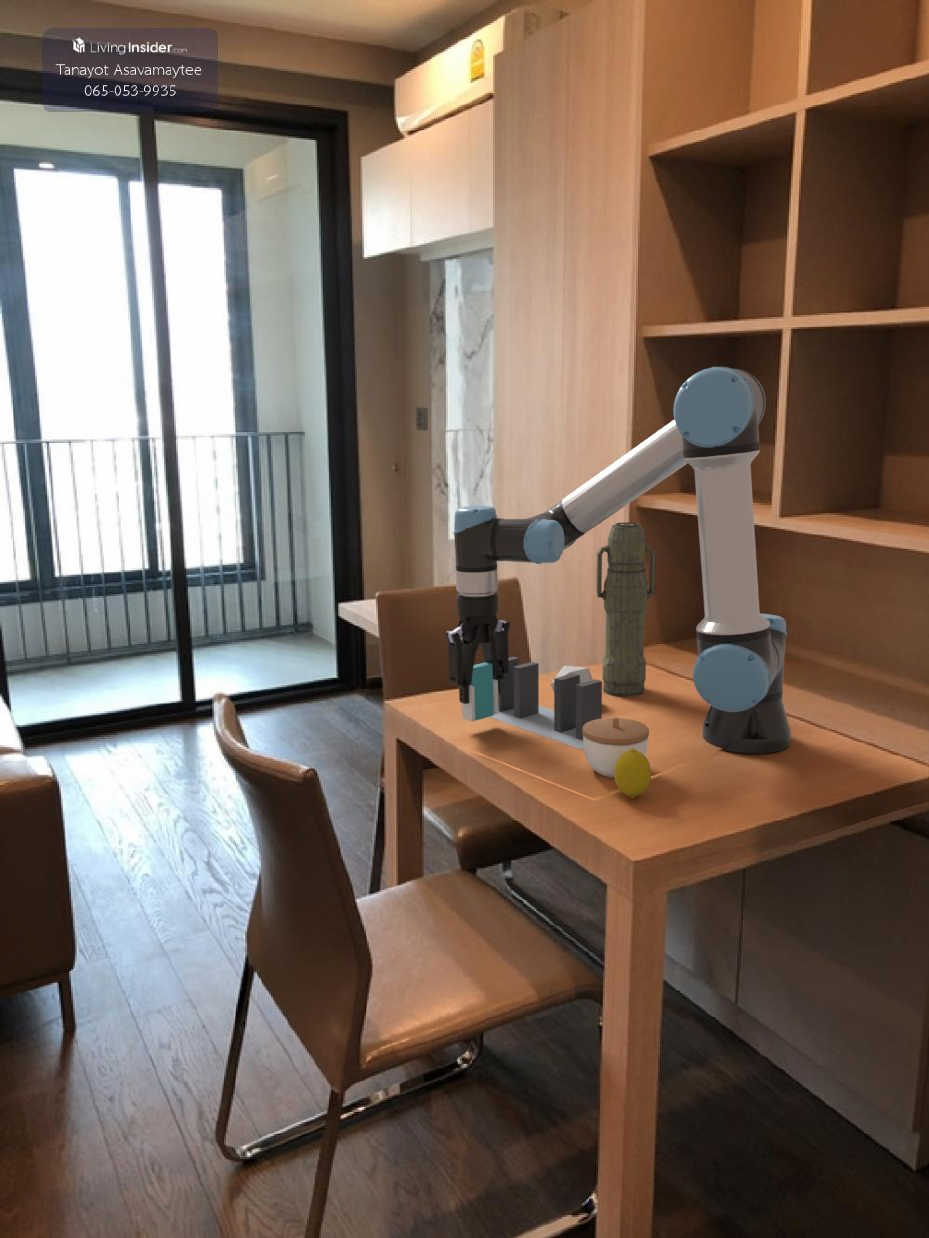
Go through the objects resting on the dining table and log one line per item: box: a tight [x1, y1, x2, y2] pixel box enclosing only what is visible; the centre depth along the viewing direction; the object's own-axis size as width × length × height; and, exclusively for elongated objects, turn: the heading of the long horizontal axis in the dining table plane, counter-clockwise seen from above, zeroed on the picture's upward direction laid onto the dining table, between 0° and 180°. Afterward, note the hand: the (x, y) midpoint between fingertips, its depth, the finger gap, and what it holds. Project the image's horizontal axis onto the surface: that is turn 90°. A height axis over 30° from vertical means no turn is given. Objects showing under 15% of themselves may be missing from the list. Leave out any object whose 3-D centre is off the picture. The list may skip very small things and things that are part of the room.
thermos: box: [595, 521, 657, 698], centre depth 207 cm, size 9×12×35 cm
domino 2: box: [514, 661, 540, 719], centre depth 193 cm, size 2×5×10 cm, turn 129°
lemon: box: [614, 749, 652, 799], centre depth 154 cm, size 6×6×8 cm
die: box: [550, 665, 594, 693], centre depth 200 cm, size 8×9×10 cm
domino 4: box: [576, 679, 603, 740], centre depth 181 cm, size 2×5×10 cm, turn 130°
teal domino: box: [470, 661, 494, 722], centre depth 185 cm, size 2×5×10 cm, turn 130°
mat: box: [489, 705, 584, 750], centre depth 190 cm, size 30×12×1 cm, turn 40°
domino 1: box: [498, 656, 520, 712], centre depth 198 cm, size 2×5×10 cm, turn 130°
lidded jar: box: [582, 717, 650, 778], centre depth 165 cm, size 11×11×9 cm
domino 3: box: [553, 673, 580, 733], centre depth 185 cm, size 2×5×10 cm, turn 130°
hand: (480, 715), depth 186 cm, fingers closed on teal domino, 5 cm apart
